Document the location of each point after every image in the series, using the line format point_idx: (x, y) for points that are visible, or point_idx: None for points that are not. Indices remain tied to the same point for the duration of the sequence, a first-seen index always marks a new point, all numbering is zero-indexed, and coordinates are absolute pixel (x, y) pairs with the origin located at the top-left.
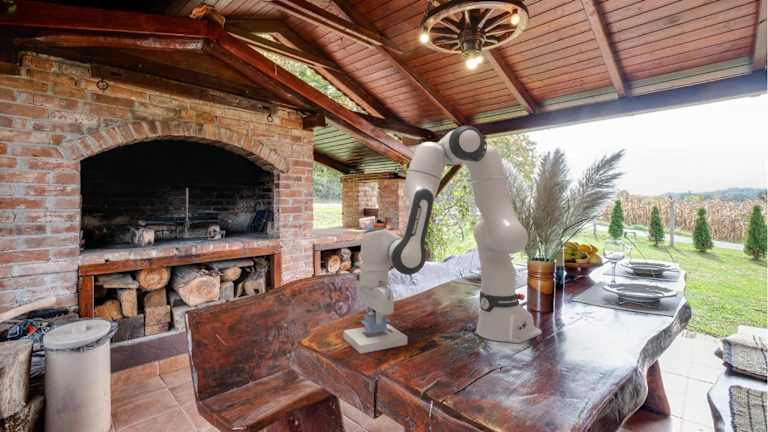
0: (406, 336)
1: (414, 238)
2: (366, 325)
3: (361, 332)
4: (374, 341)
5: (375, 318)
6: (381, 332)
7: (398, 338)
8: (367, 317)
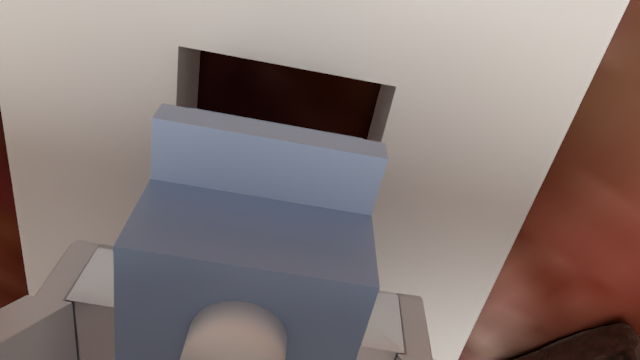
0: None
1: None
2: (161, 114)
3: (396, 93)
4: (27, 43)
5: (82, 304)
6: None
7: (29, 278)
8: (223, 244)
